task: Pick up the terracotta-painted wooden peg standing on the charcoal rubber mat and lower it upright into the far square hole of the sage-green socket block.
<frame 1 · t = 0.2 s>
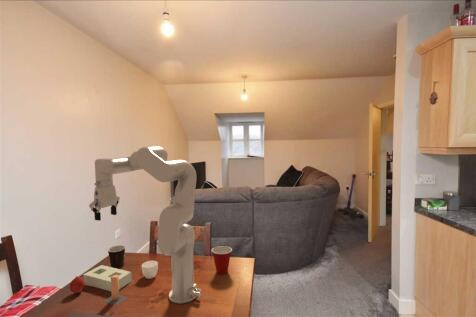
hand: (106, 217, 128), 31 cm above the table, fingers open, 9 cm apart
mat: (115, 299, 110), on the table
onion: (77, 293, 116), on the table
coffee mug: (116, 267, 139), on the table
cup: (151, 276, 130), on the table
socket block: (107, 283, 124), on the table
plastic cup: (222, 271, 134), on the table
peg: (115, 287, 110), on the mat
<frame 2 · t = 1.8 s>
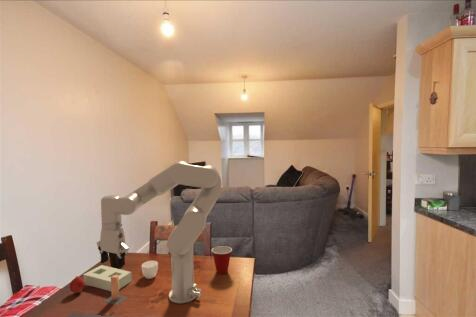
hand: (112, 264, 109), 16 cm above the table, fingers open, 9 cm apart
nothing on the table moved.
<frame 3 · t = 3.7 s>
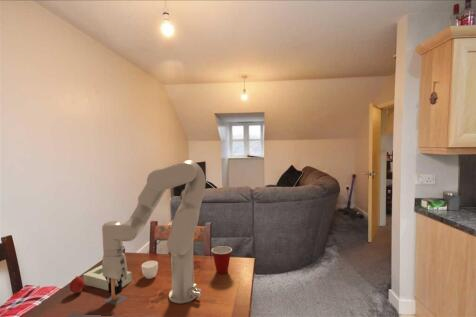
hand: (115, 291, 110), 4 cm above the table, fingers closed on peg, 3 cm apart
peg: (115, 287, 110), on the mat, touching gripper
everything else where it was.
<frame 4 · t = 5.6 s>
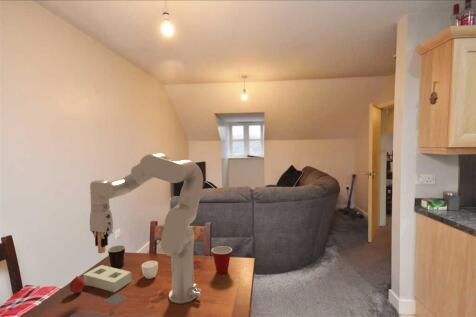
hand: (101, 245, 120), 20 cm above the table, fingers closed on peg, 3 cm apart
peg: (101, 241, 120), point 22 cm above the table, touching gripper
everything else where it was.
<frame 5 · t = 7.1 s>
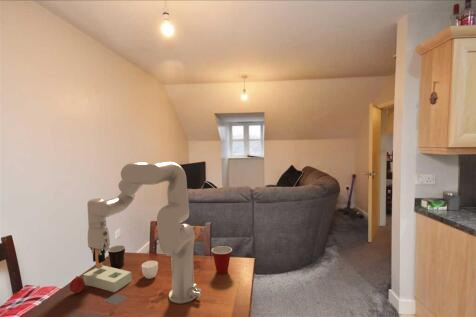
hand: (99, 260, 125), 10 cm above the table, fingers closed on peg, 3 cm apart
peg: (98, 257, 125), point 12 cm above the table, touching gripper
everything else where it was.
when the fingers open (6 cm above the table, at t = 7.9 s): peg drops 3 cm, resting in socket block.
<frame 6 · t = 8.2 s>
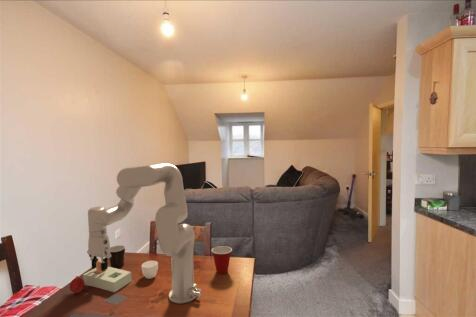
hand: (99, 268, 125), 7 cm above the table, fingers open, 5 cm apart
peg: (99, 271, 125), in the socket block
everything else where it was.
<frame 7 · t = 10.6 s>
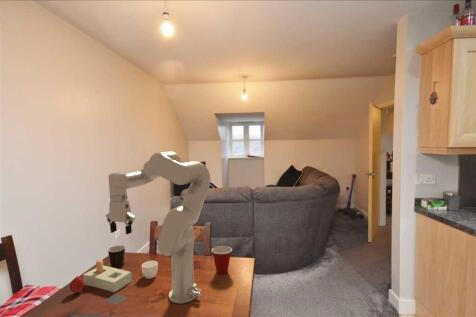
hand: (121, 232, 125), 24 cm above the table, fingers open, 9 cm apart
nothing on the table moved.
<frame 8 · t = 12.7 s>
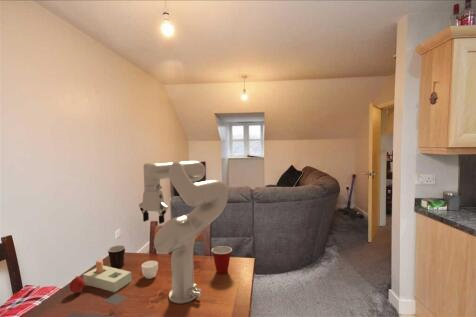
hand: (153, 221, 127), 28 cm above the table, fingers open, 9 cm apart
nothing on the table moved.
at the end: peg 0.1 cm from the target spot on the socket block, point 5.0 cm above the socket block's base; peg tilted 0°; the gripper is holding nothing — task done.
